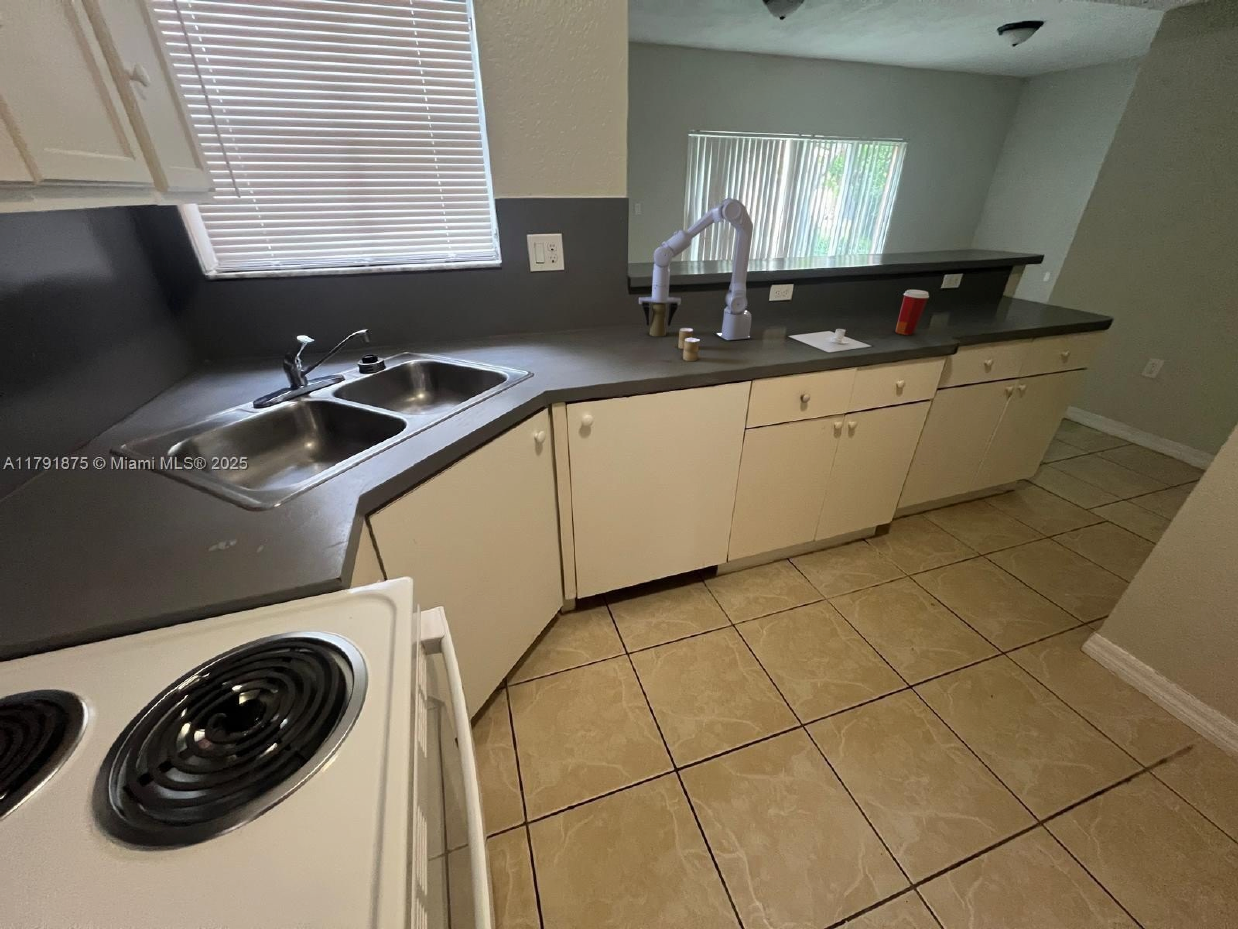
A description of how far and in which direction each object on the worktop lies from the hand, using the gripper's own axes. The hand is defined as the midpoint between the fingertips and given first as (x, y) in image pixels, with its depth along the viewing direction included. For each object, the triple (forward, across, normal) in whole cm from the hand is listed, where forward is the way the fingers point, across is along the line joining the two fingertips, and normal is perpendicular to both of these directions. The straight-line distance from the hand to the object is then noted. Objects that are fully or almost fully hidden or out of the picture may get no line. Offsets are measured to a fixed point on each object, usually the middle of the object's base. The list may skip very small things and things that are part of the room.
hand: (658, 324), depth 173 cm
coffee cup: (+4, -94, -7) cm, 95 cm away
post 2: (+3, -8, +27) cm, 28 cm away
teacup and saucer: (+4, -61, +6) cm, 61 cm away
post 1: (+3, -8, +15) cm, 17 cm away
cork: (+4, 0, 0) cm, 4 cm away
